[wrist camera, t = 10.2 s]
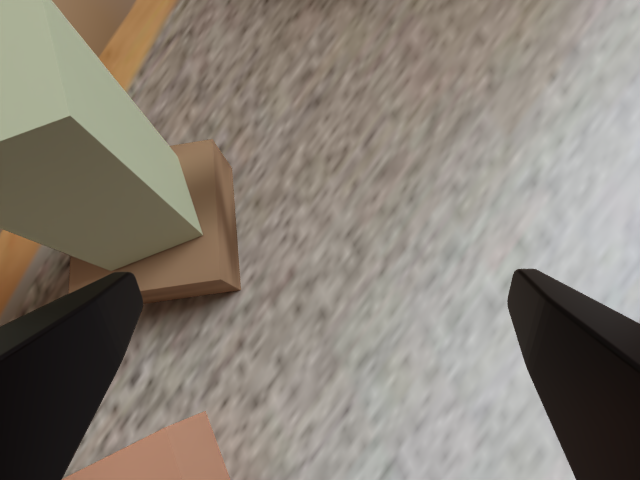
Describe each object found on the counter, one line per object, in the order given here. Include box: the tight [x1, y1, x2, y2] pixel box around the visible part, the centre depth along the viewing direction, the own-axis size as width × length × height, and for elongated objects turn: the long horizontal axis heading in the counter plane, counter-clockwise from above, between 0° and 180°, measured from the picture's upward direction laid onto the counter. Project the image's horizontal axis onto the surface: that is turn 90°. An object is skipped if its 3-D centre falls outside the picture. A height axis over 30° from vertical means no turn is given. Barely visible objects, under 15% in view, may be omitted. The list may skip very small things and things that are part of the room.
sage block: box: [0, 0, 203, 271], centre depth 16 cm, size 5×5×10 cm
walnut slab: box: [69, 139, 241, 304], centre depth 23 cm, size 8×8×4 cm
